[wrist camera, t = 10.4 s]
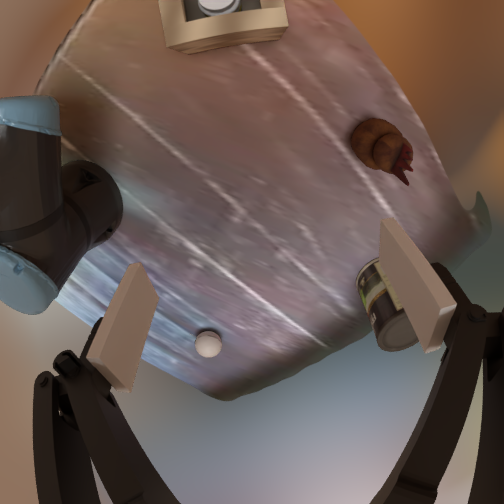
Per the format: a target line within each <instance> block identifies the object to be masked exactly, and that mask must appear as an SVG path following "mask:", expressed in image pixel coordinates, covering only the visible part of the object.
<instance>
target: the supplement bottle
mask: <svg viewBox="0 0 504 504" xmlns="http://www.w3.org/2000/svg"><path fill="white" fill-rule="evenodd" d="M198 6H199V8H200V10H201V11H202V12H203V13H204V15H205V16H206V17H212V16H217V15H222V14H228V13H234V12H241V11H242V6H241V0H198Z"/></svg>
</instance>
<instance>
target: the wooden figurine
mask: <svg viewBox="0 0 504 504" xmlns="http://www.w3.org/2000/svg"><path fill="white" fill-rule="evenodd" d="M351 143H352V149H353V150H354V152H355V154H356V155H357V157H358V158H359V159H360V160H361V161H362V162H363V163H364V164H365V165H366V166H367V167H370V168H372V169H375V170H382V171H384V172H387V173H389V174H394V175H395V176H396V177H398V178H399V179H400V180H401V181H402V182H403V183H405V184H406V185H407V186H409V182H408V180H407V178H406V176H405V174H404V172H403V171H405V170H409V171H411V172H413V169H412V168H411V166H410V164H411V162H412V160H413V150H412V146H411V144H410V143H409V142H408V141H407V139H405V138H404V137H403V136H402V134H401V132H400V131H399V130H398V129H397V128H396V127H395V126H394V125H392V124H391V123H389V122H387V121H386V120H383V119H376V118H372V119H370V120H367V121H365V122H363V123H362V124H361V125H359V126H358V127H357V128H356V130H355V131H354V133H353V135H352V137H351Z"/></svg>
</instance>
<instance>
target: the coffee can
mask: <svg viewBox="0 0 504 504" xmlns="http://www.w3.org/2000/svg"><path fill="white" fill-rule="evenodd" d="M356 287H357V290H358V292H359V294H360V296H361V299H362V301H363V304H364V306H365V309H366V312H367V314H368V317H369V319H370V322H371V325H372V327H373V330H374V333H375V335H376V338H377V343H378V346H379V347H380V348H381V349H382V350H384V351H389V352H394V351H400V350H404V349H406V348H409V347H411V346H413V345H414V344H416V343H417V342H419V339H418V337H417V335H416V333H415V331H414V328H413V326H412V324H411V322H410V320H409V318H408V316H407V314H406V312H405V310H404V308H403V306H402V304H401V302H400V300H399V298H398V296H397V294H396V293H395V291H394V289H393V287H392V285H391V283H390V281H389V279H388V278H387V276H386V274H385V272H384V270H383V269H382V267H381V265H380V263H379V258H377V259H374V260H372V261H371V262H369V263H368V264H367V265H365V266H364V267H363V268H362V270H361V271H360V273H359V274H358V276H357V280H356Z"/></svg>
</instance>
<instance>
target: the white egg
mask: <svg viewBox="0 0 504 504" xmlns="http://www.w3.org/2000/svg"><path fill="white" fill-rule="evenodd" d="M191 335H192V334H191ZM193 336H194V335H193ZM221 347H222V342H221V339H220V337H219V336H218V335H217V334H216V333H214V332H211V331H205V332H202V333H201V334H199V335H198V336H197V338H196V340H195V348H196V350H197V352H198V353H199V354H200V355H202V356H204V357H213V356H216V355H217V354H218V353H219V352H220V350H221Z"/></svg>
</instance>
